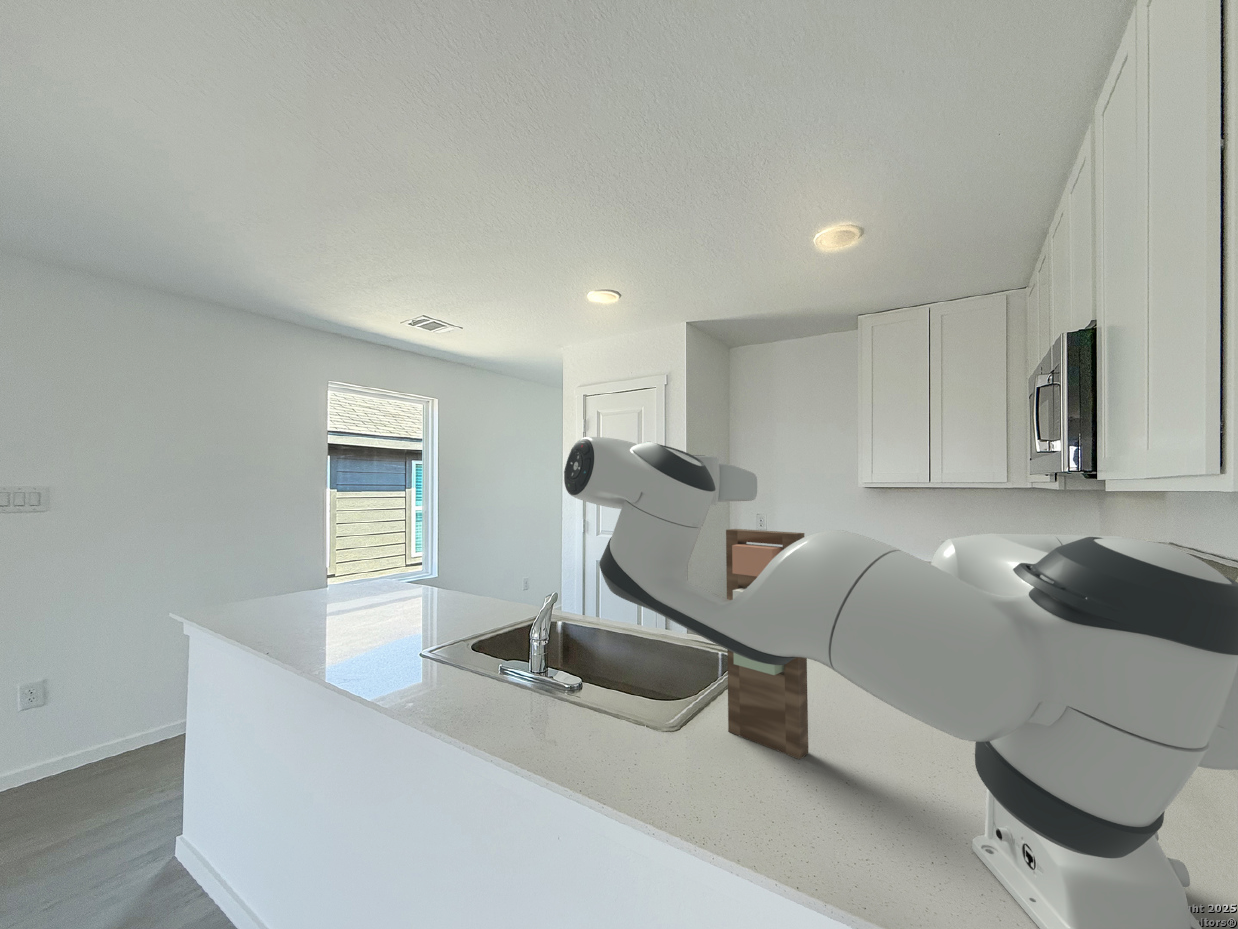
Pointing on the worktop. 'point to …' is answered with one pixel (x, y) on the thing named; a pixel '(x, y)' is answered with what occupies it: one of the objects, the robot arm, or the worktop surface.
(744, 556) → the terracotta key
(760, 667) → the sage key
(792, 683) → the key panel
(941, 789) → the worktop surface
